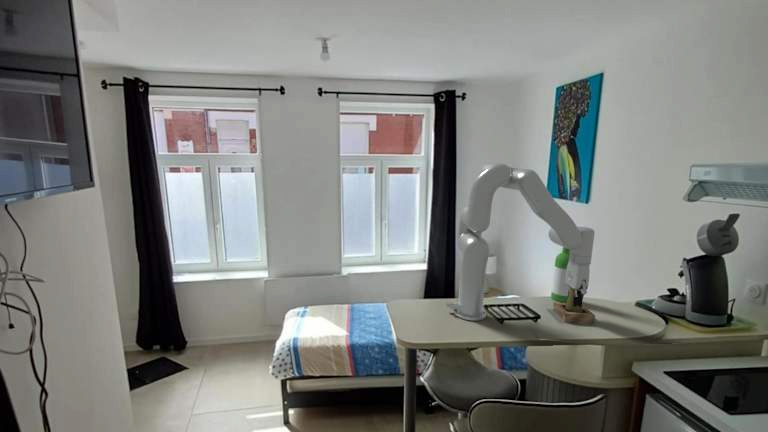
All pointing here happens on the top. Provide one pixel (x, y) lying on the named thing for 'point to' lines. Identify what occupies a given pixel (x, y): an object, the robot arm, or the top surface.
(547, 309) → the mat
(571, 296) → the cork
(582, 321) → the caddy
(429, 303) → the top surface
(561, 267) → the wine bottle
